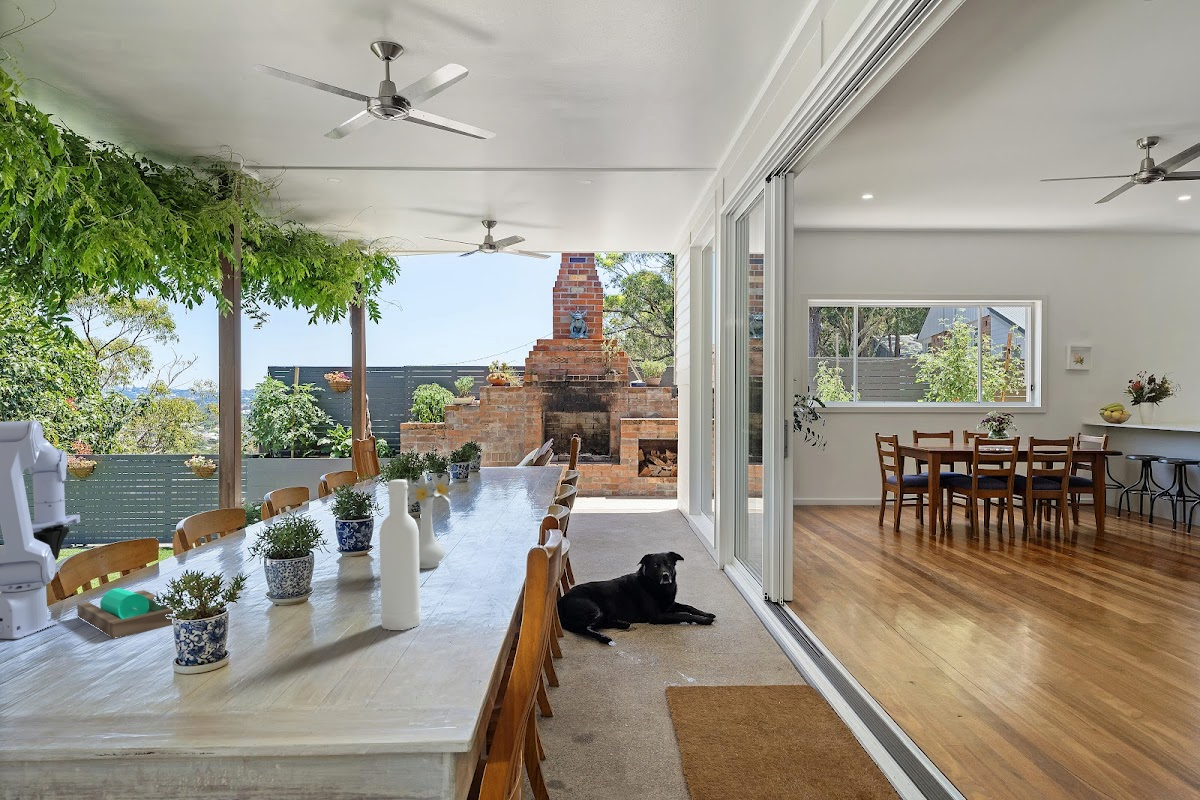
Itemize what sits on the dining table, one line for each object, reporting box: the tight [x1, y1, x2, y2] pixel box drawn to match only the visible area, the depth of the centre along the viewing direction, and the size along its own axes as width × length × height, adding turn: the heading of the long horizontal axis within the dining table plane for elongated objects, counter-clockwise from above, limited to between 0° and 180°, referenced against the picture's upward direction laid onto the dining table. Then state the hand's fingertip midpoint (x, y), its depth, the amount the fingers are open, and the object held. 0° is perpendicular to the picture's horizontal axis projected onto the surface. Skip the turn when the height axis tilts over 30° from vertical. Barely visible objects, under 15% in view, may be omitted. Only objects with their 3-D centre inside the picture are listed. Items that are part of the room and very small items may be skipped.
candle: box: [99, 587, 149, 619], centre depth 157 cm, size 6×6×12 cm
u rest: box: [76, 589, 173, 639], centre depth 157 cm, size 22×13×3 cm, turn 51°
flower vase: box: [387, 473, 458, 570], centre depth 198 cm, size 13×18×25 cm
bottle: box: [378, 478, 422, 631], centre depth 151 cm, size 8×8×30 cm
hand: (51, 560), depth 169 cm, fingers closed
